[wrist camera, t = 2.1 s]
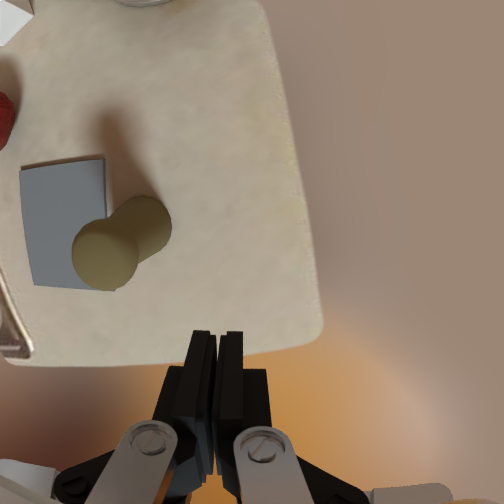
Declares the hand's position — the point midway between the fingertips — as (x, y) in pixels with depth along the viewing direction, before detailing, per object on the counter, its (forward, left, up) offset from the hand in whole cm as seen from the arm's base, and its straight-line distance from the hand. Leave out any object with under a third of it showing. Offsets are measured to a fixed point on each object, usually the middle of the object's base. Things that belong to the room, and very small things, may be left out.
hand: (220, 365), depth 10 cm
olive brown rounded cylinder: (0, -9, -20) cm, 22 cm away
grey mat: (0, -19, -20) cm, 28 cm away
